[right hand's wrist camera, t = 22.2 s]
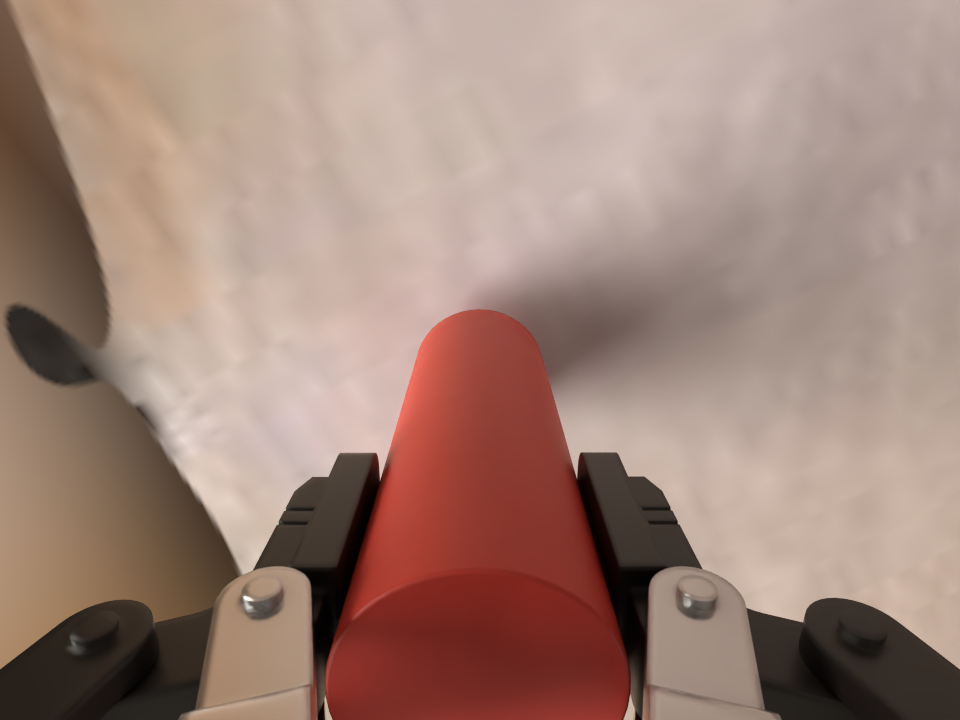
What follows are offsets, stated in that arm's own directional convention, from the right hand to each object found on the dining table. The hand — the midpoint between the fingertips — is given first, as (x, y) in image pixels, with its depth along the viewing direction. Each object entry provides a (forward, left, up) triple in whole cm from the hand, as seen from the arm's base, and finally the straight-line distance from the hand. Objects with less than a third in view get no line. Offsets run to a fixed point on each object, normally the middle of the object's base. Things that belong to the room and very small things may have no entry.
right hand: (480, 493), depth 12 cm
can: (0, 0, -7) cm, 7 cm away
